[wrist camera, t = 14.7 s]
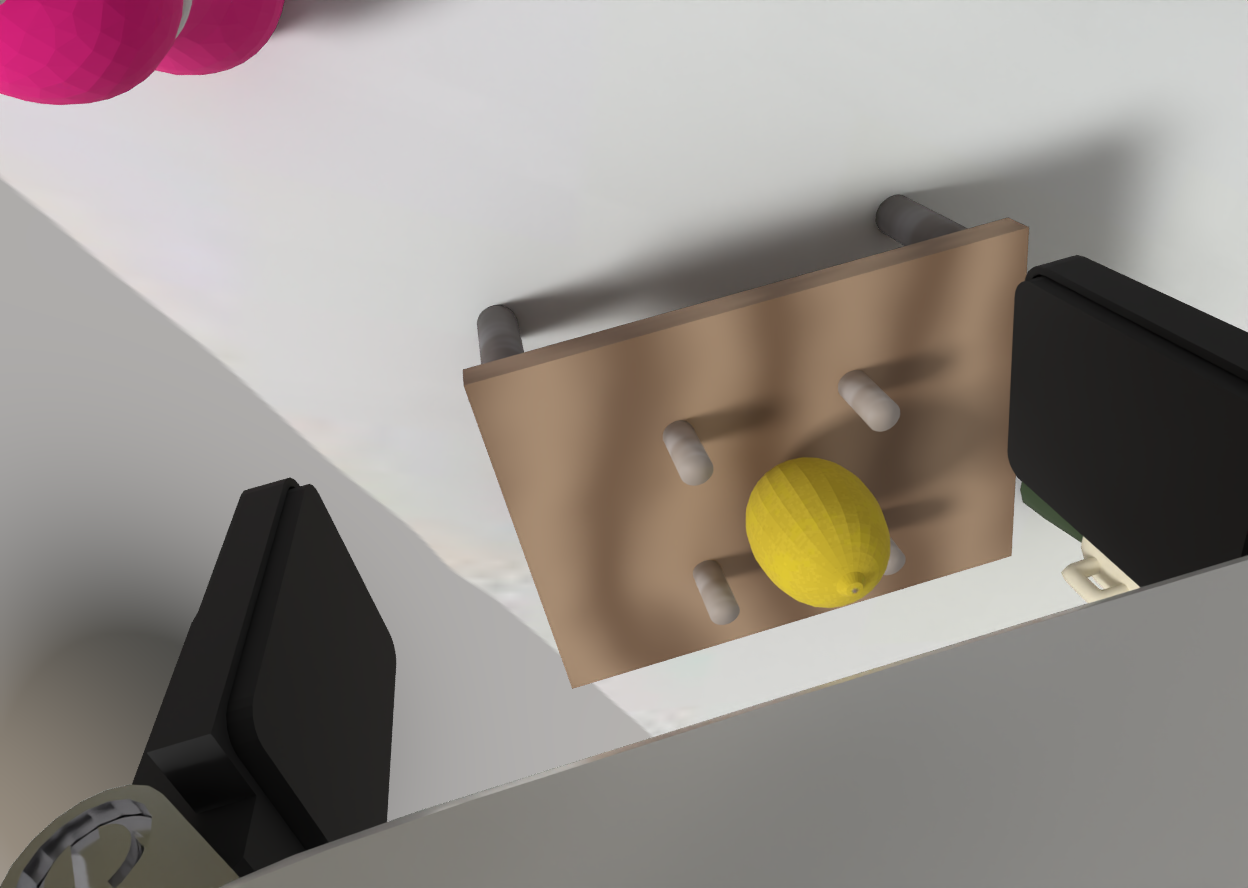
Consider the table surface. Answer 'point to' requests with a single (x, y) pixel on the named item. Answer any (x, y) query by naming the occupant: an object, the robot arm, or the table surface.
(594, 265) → the table surface
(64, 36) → the pepper mill
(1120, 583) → the character mug
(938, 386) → the peg shelf
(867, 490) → the lemon
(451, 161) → the table surface
